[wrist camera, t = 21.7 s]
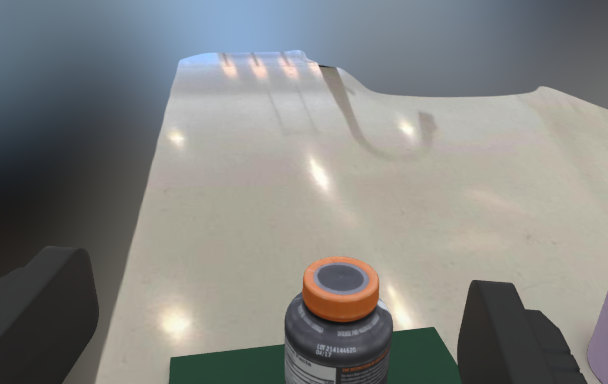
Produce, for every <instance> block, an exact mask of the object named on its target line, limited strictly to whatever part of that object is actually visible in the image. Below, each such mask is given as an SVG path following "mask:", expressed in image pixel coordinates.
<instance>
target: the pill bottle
mask: <svg viewBox="0 0 608 384" xmlns="http://www.w3.org/2000/svg"><path fill="white" fill-rule="evenodd" d="M392 333H393V321H392V317H391V314H390V312H389V310H388V308H387V306H386V305H385V304H384V302H383V301H382V300H381V299H380V298H379V278H378V275H377V273H376V271H375V270H374V269H373V268H372V267H371V266H369V265H368V264H366V263H364V262H362V261H360V260H357V259H354V258H349V257H329V258H324V259H320V260H318V261H316V262H314V263H312V264H311V265H310V266H309V267H308V268H307V269H306V271H305V273H304V277H303V290H302V292H301V293H300V294H298V295H297V296H296V297H295V298H294V299H293V300H292V302H291V303H290V305H289V307H288V309H287V312H286V315H285V384H387V377H388V368H389V359H390V351H391V341H392Z"/></svg>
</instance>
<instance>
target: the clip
mask: <svg viewBox="0 0 608 384" xmlns="http://www.w3.org/2000/svg"><path fill="white" fill-rule="evenodd" d="M587 358H588V362H589V365H590V367H591V369H592V371H593V372H594V374H595V375H596V377H597V378H598V379H599V380H600V381H601V382H602V383H603V384H608V292H607V295H606V298H605V301H604V304H603V307H602V310H601V313H600V315H599V318H598V321H597V324H596V327H595V330H594V333H593V336H592V339H591V341H590V344H589V347H588V351H587Z"/></svg>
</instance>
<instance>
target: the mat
mask: <svg viewBox="0 0 608 384" xmlns="http://www.w3.org/2000/svg"><path fill="white" fill-rule="evenodd" d="M169 384H285V344H283V345H274V346H266V347H257V348H248V349H240V350H231V351H223V352H214V353H206V354H197V355H188V356H180V357H171V359H170V379H169ZM387 384H462V382H461V378H460V374H459V369H458V365H457V364H456V362H455V361H454V359H453V357H452V356H451V354H450V352H449V351H448V349H447V347H446V346H445V344H444V342H443V341H442V339H441V338H440V336H439V334H438V333H437V331H436V329H435V328H434V327H428V328H420V329H411V330H403V331H394V332H393V333H392V341H391V351H390V359H389V368H388V377H387Z"/></svg>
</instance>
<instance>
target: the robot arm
mask: <svg viewBox="0 0 608 384" xmlns="http://www.w3.org/2000/svg"><path fill="white" fill-rule="evenodd" d="M98 317H99V306H98V300H97V294H96V289H95V283H94V278H93V273H92V267H91V262H90V257H89V254H88V252H87V251H86V250H85V249H81V248H69V247H55V246H47V247H45V248H43V249H42V250H41V251H40V252H39V253H38V254H37V255H36V256H35V257H34V258H33V259H32V260H31V261H30V263H28V264H27V265H26V266H25V268H20V267H19V268H17V269H16V270H14V271H12V272H10V273H9V274H7V275H5V276H3V277H1V278H0V384H62V382H63V381H64V379H65V378H66V376H67V375H68V373H69V372H70V370H71V368H72V367H73V365H74V364H75V362H76V361H77V359H78V358H79V356H80V355H81V353H82V351H83V350H84V348H85V347H86V346H87V344H88V343H89V341H90V339H91V338H92V336H93V334H94V332H95V330H96V327H97V323H98ZM457 360H458V369H459V374H460V378H461V382H462V384H587V382H586V380H585V378H584V376H583V374H582V373H580V368H579V366H578V364H577V362H576V360H575V358H574V356H573V355H571V354H570V349H569V347H568V345H567V343H566V341H565V339H564V337H563V335H562V333H561V331H560V329H559V328H558V327H556V326H555V325H554V324H553V323H552V322H551V321H550V320H549V319H548V318H547V317H546V316H545V315H544V314H543V313H542V312H541V311H539V310H526V309H525V308H524V306H523V304H522V302H521V299H520V297H519V295H518V293H517V290H516V288H515V286H514V285H513V284H512V283H507V282H494V281H481V280H473V281H472V282H471V284H470V287H469V291H468V296H467V300H466V305H465V310H464V314H463V319H462V324H461V328H460V333H459V338H458V346H457Z"/></svg>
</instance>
